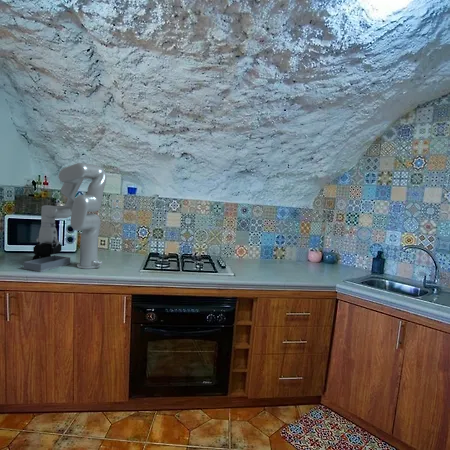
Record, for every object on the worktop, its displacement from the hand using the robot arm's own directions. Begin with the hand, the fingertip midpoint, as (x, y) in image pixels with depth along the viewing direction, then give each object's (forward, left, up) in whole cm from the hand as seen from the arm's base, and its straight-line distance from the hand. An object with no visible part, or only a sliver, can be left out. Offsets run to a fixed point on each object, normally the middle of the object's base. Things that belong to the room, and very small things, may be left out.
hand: (47, 253), depth 198 cm
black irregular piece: (0, +1, -4) cm, 4 cm away
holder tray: (-14, +15, -4) cm, 21 cm away
